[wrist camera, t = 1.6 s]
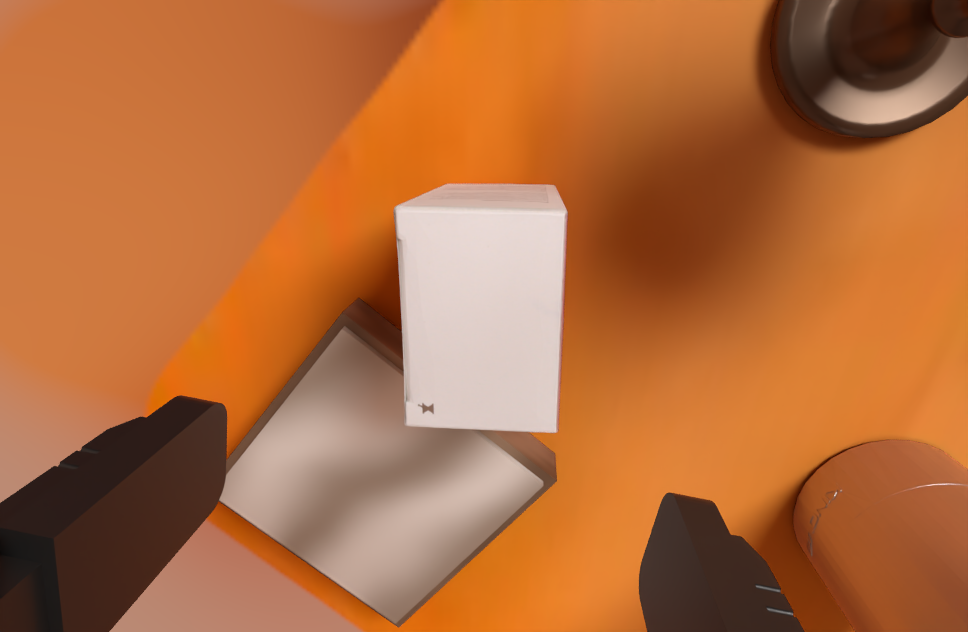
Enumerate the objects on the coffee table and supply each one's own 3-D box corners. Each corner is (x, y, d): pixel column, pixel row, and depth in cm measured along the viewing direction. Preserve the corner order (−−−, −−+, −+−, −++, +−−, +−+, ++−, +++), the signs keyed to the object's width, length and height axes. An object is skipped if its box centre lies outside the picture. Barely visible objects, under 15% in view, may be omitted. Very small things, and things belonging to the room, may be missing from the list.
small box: (551, 336, 29) (560, 441, 19) (447, 333, 29) (401, 433, 19) (558, 181, 26) (572, 208, 17) (444, 180, 27) (390, 205, 17)
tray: (555, 453, 31) (557, 485, 28) (408, 593, 35) (397, 633, 32) (358, 297, 29) (339, 314, 26) (227, 464, 33) (199, 494, 30)
